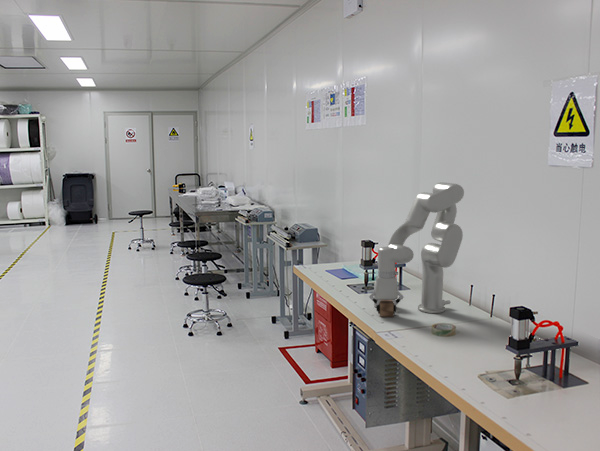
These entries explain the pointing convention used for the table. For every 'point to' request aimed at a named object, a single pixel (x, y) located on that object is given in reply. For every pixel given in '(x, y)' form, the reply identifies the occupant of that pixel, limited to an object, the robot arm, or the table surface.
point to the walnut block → (386, 308)
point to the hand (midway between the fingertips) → (386, 312)
